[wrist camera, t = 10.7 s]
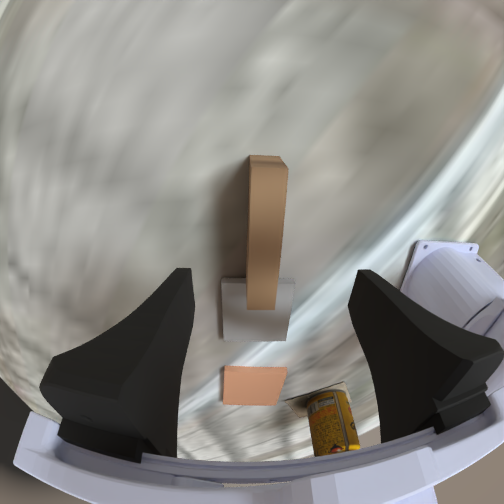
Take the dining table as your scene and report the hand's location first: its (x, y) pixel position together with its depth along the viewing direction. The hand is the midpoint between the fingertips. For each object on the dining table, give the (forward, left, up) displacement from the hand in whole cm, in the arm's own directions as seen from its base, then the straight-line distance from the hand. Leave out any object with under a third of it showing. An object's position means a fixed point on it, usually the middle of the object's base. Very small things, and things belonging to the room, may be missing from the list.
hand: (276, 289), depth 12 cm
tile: (0, +19, -9) cm, 21 cm away
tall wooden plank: (0, +5, -10) cm, 11 cm away
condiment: (-10, +28, -10) cm, 31 cm away
